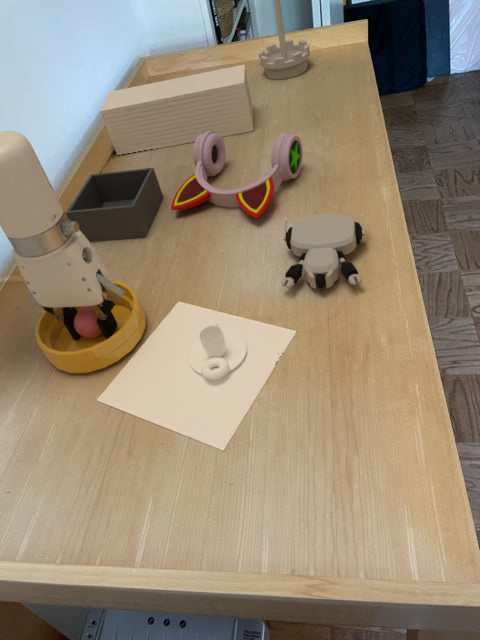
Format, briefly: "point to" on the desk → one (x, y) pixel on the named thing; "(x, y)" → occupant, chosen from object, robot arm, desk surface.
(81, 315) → the toy ball
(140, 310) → the bowl
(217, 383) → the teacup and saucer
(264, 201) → the headphones
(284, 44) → the flag stand
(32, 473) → the desk surface
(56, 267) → the robot arm
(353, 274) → the robot toy
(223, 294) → the desk surface
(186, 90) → the stack of papers
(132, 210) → the bin
